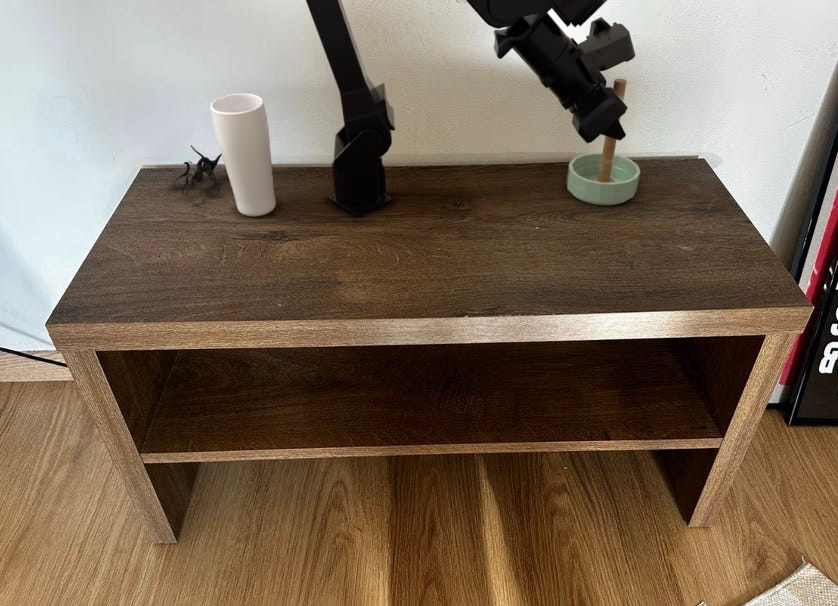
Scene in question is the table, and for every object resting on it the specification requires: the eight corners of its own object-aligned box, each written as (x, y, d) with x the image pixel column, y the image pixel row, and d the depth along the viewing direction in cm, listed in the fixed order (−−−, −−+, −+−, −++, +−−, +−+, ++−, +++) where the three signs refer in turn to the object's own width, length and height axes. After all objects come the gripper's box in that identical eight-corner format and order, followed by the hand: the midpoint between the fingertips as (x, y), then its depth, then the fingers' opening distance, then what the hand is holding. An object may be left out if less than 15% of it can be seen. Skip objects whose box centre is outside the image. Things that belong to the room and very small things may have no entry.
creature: (211, 209, 100) (240, 174, 104) (198, 179, 96) (228, 144, 100) (166, 199, 102) (196, 166, 107) (151, 170, 98) (183, 136, 102)
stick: (613, 191, 99) (633, 85, 89) (592, 189, 100) (609, 83, 90) (613, 181, 101) (632, 77, 92) (592, 180, 102) (608, 75, 92)
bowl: (606, 214, 96) (610, 191, 94) (552, 188, 102) (555, 166, 99) (649, 191, 101) (654, 169, 99) (595, 168, 107) (598, 146, 104)
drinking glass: (271, 223, 95) (251, 115, 85) (224, 218, 96) (199, 111, 86) (288, 199, 100) (272, 94, 90) (244, 194, 101) (223, 91, 91)
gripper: (623, 27, 77) (696, 120, 85) (582, -16, 92) (648, 67, 99) (546, 100, 82) (622, 182, 90) (518, 48, 96) (586, 123, 104)
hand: (620, 134), depth 96 cm, fingers closed on stick
